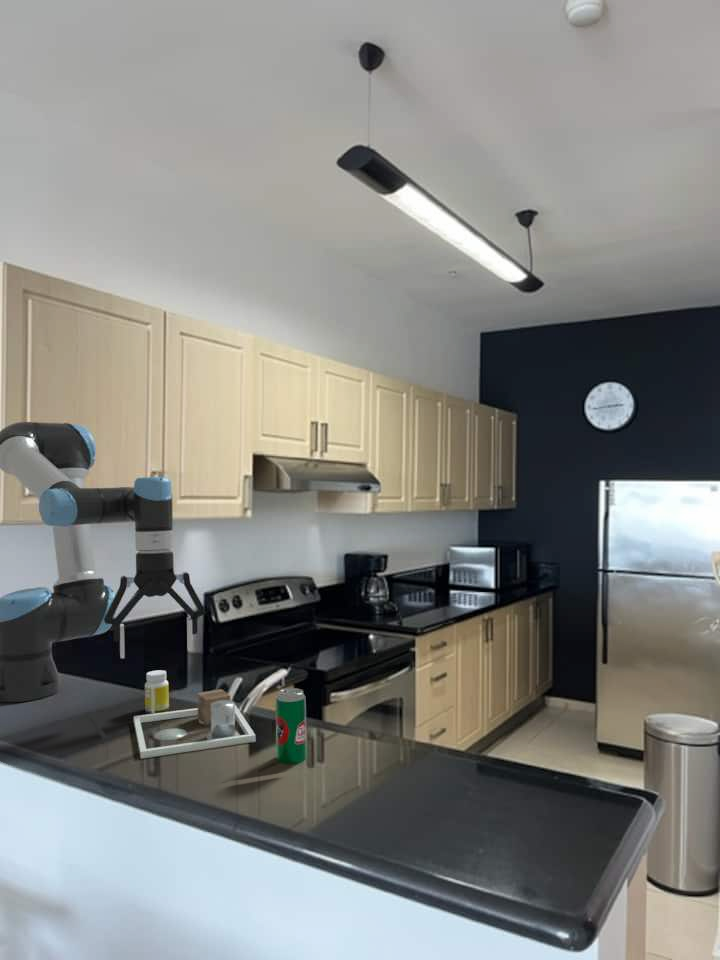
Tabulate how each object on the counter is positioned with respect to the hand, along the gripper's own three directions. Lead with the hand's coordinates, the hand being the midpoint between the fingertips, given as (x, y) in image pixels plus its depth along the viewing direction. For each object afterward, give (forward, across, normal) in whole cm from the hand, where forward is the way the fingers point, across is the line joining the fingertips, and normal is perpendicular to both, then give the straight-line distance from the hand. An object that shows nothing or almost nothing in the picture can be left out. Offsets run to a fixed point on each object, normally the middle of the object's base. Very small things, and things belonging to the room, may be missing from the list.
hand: (156, 653), depth 148 cm
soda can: (+13, +19, -36) cm, 42 cm away
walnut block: (+12, +10, -11) cm, 19 cm away
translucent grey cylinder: (+12, +10, -21) cm, 26 cm away
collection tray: (+13, +5, -16) cm, 21 cm away
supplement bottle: (+13, 0, 0) cm, 13 cm away
